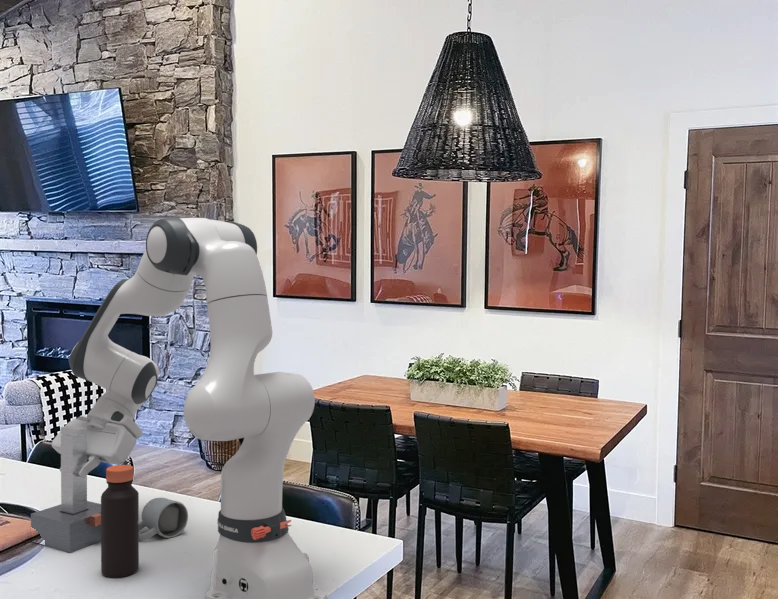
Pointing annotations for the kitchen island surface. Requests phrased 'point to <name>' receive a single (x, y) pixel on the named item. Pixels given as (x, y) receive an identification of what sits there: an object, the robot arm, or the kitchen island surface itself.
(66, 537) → the stand sleeve
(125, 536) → the bottle
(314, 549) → the kitchen island surface
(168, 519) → the ceramic mug
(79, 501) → the column
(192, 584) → the kitchen island surface
